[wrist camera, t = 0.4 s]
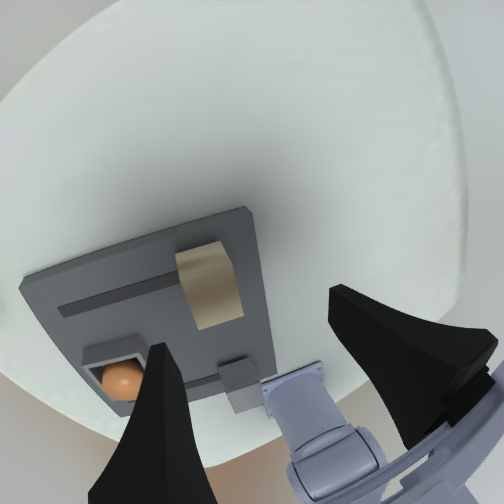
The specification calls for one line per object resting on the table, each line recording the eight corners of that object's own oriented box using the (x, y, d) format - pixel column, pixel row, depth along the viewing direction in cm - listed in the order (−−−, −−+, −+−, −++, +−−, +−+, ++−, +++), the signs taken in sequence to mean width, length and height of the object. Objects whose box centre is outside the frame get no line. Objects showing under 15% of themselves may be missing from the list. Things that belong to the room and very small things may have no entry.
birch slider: (231, 289, 20) (244, 315, 18) (191, 301, 20) (198, 330, 17) (219, 240, 18) (232, 263, 16) (174, 254, 17) (179, 279, 15)
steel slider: (255, 380, 26) (265, 403, 24) (226, 389, 26) (235, 413, 23) (249, 357, 24) (260, 382, 22) (217, 367, 24) (226, 393, 21)
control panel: (272, 363, 29) (284, 387, 26) (119, 406, 25) (121, 432, 22) (245, 206, 20) (262, 224, 17) (24, 277, 16) (9, 304, 13)
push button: (151, 380, 21) (153, 395, 20) (115, 389, 20) (115, 403, 19) (133, 354, 19) (134, 370, 18) (95, 364, 18) (93, 379, 17)
